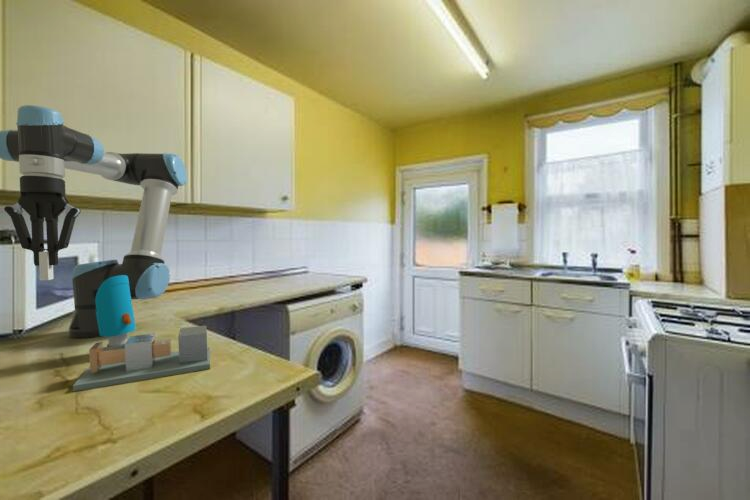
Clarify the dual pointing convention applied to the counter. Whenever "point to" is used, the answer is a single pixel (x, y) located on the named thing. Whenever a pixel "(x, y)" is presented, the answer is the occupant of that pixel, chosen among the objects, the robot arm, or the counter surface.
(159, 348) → the bolt
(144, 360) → the sleeve
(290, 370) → the counter surface
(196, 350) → the socket
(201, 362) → the board
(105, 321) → the security camera
